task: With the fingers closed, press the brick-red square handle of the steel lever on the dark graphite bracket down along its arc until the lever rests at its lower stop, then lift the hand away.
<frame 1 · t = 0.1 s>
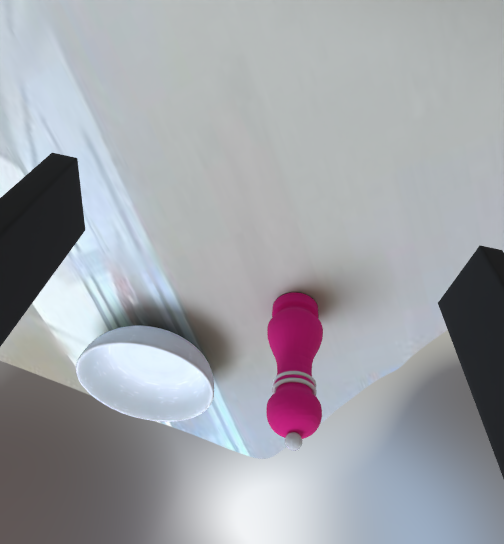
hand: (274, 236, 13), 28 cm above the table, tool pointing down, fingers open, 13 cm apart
serving bowl: (157, 350, 64), on the table
pepper mill: (295, 307, 55), on the table
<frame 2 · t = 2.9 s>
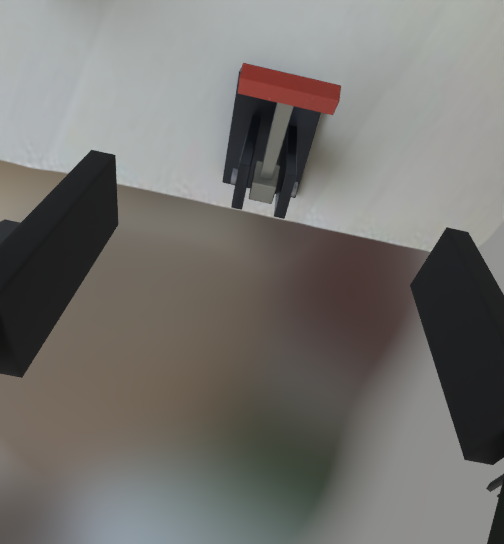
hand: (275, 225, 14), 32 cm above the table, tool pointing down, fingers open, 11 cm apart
lever: (273, 147, 31), point 13 cm above the table, hinge at 28.0°
bracket: (270, 136, 44), on the table
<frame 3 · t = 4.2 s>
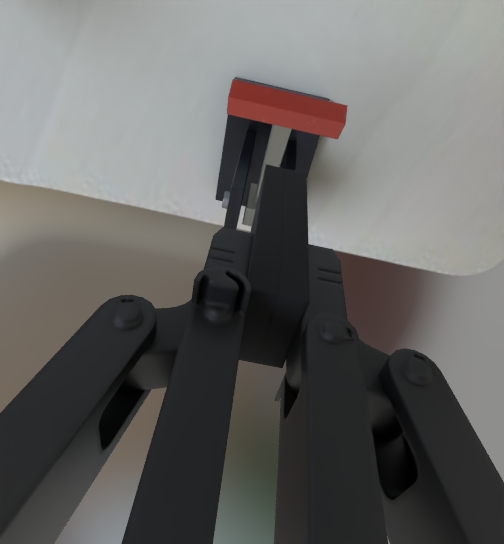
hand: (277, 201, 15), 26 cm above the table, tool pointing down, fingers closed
lever: (269, 170, 27), point 13 cm above the table, hinge at 28.0°
bracket: (268, 150, 41), on the table
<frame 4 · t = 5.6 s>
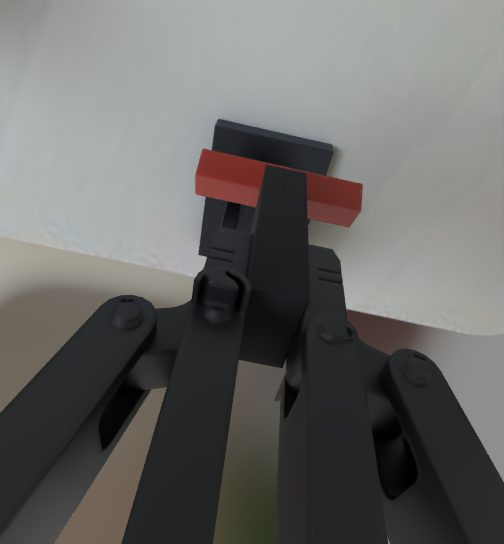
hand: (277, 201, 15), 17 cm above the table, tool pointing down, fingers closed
lever: (257, 253, 21), point 13 cm above the table, hinge at 24.6°, touching gripper
bracket: (259, 201, 34), on the table
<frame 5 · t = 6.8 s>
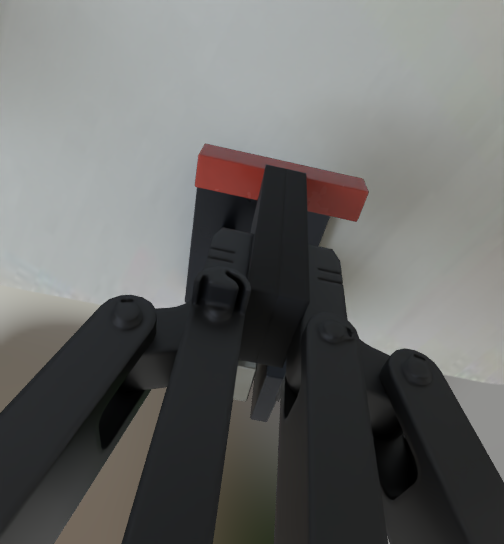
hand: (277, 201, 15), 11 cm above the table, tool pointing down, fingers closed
lever: (251, 295, 19), point 11 cm above the table, hinge at -5.6°, touching gripper
bracket: (252, 246, 30), on the table
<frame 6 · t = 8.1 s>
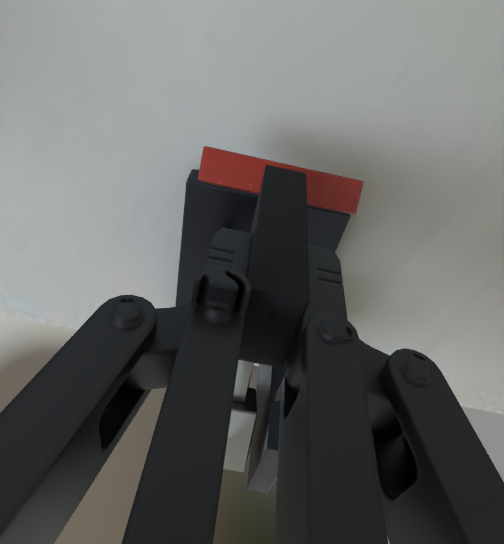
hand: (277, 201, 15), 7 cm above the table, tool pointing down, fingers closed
lever: (250, 316, 17), point 8 cm above the table, hinge at -32.7°, touching gripper
bracket: (250, 268, 26), on the table
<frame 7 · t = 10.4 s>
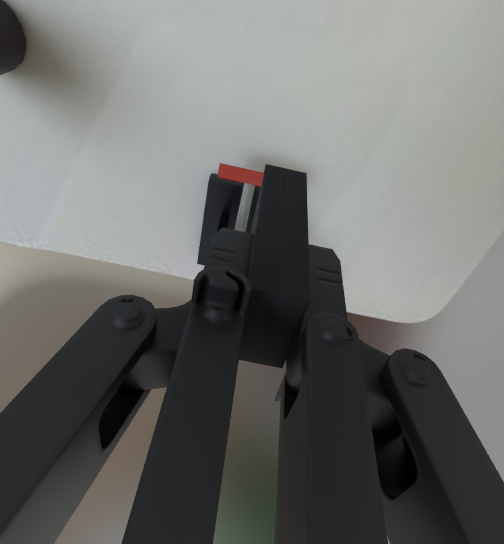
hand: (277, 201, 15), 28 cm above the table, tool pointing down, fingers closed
lever: (238, 235, 40), point 8 cm above the table, hinge at -32.7°
bracket: (240, 226, 49), on the table
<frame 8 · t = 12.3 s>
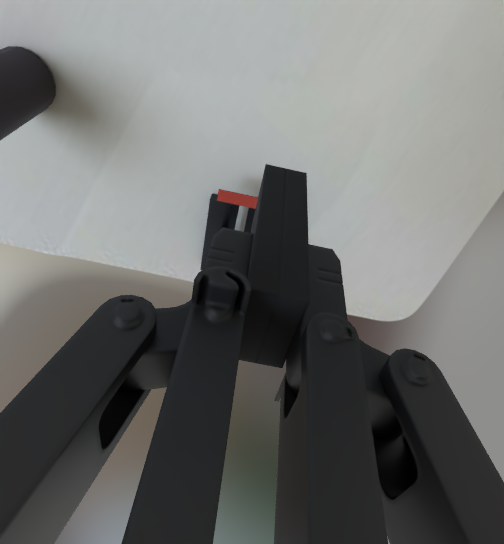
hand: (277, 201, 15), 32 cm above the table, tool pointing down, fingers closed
lever: (235, 249, 47), point 8 cm above the table, hinge at -32.7°
bracket: (237, 237, 56), on the table
bottle: (27, 78, 45), on the table
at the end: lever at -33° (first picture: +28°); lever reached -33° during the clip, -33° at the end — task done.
